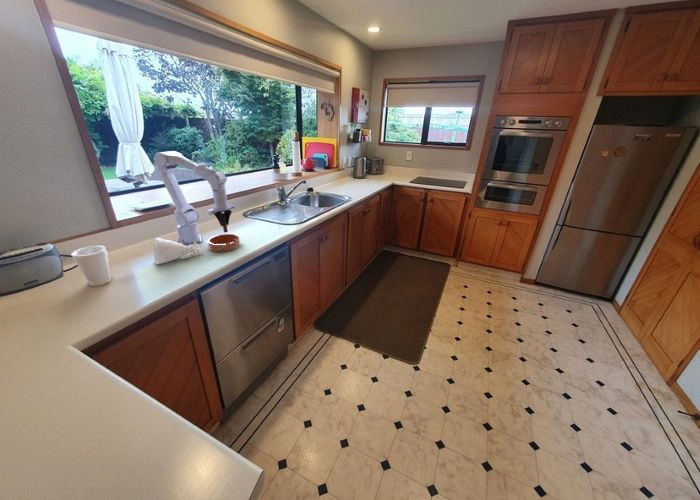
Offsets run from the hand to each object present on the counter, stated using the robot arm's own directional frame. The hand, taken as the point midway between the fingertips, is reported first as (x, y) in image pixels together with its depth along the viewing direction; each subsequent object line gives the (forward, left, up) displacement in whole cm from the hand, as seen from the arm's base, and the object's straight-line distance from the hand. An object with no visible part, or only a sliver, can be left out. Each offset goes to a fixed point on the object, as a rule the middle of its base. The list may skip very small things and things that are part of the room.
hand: (224, 225), depth 138 cm
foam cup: (-49, -15, -11) cm, 52 cm away
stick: (0, 0, -3) cm, 3 cm away
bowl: (-2, -2, -10) cm, 11 cm away
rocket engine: (-22, -8, -11) cm, 25 cm away
